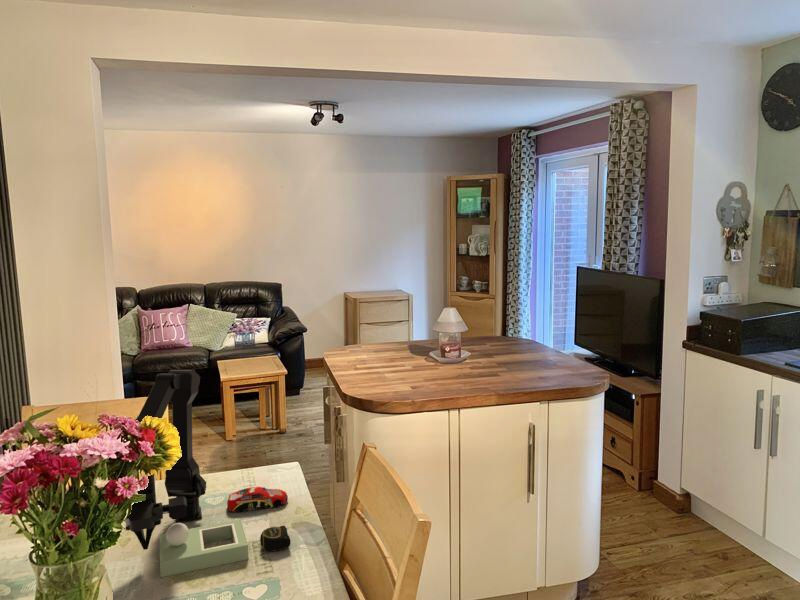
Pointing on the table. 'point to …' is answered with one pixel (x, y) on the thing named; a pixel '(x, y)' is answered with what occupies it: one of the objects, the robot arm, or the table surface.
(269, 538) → the tape measure
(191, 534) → the green
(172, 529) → the ball
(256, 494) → the race car
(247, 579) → the table surface
